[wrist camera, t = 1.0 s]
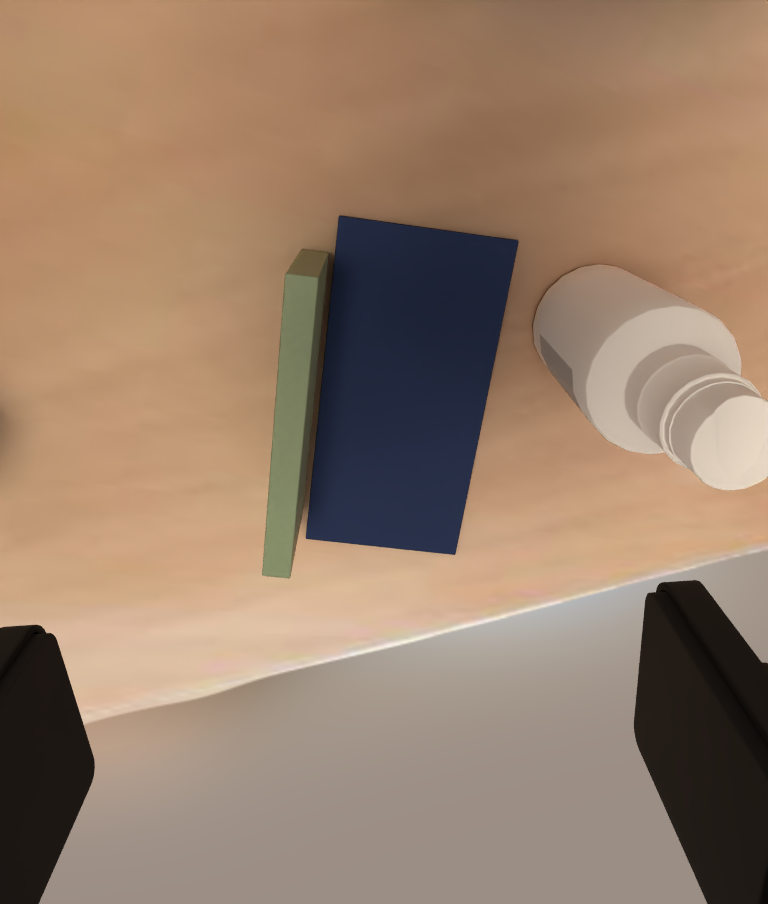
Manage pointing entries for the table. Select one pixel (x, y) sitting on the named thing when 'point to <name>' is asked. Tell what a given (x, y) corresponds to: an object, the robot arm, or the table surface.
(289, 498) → the backboard
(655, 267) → the table surface
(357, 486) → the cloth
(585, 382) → the white capped bottle
